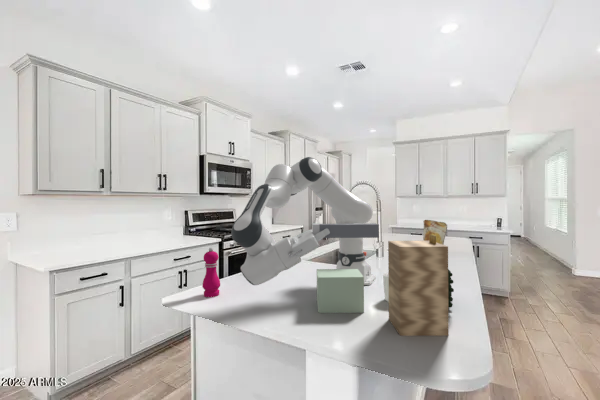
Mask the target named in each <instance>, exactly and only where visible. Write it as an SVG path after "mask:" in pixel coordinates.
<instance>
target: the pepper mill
mask: <svg viewBox="0 0 600 400" xmlns="http://www.w3.org/2000/svg"><path fill="white" fill-rule="evenodd" d="M203 261H204V262H205V263H204V267H205V275H204V278H203V280H202V285H201V286H202V289H203V290H204V291H203V297H205V298H216V297H218V296H219V295H220V287H221V280H220V278H219V275H218V273H217V267H218V261H219V254H218V252H216V251H214V248H213V247H209V249H208V251H206V252H204V255H203Z"/></svg>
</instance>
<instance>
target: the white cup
mask: <svg viewBox="0 0 600 400" xmlns="http://www.w3.org/2000/svg"><path fill="white" fill-rule="evenodd" d="M382 277H383V278H382V279H383V283H382V284H383V294H384V301H386V302H387V303H389V272H384V273H383V274H382Z"/></svg>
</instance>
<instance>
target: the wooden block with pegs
mask: <svg viewBox="0 0 600 400" xmlns="http://www.w3.org/2000/svg"><path fill="white" fill-rule="evenodd" d="M387 244H388V246H387V247H388V249H387V250H388V252H387V253H388V254H387V255H388V264H387V265H388V269H387V271H388V273H389V302H388V320H389V322H390V323H391V324H392V326H393V327H394V329H395V330H396V332H397V333H398V334H399V336H401V337H403V336H404V337H406V336H407V337H411V336H412V337H413V336H414V337H415V336H416V337H417V336H420V337H421V336H422V337H423V336H424V337H425V336H426V337H427V336H432V337H434V336H439V337H443V336H449V307H448V269H449V246H448V245H445V244H444V245H442V244H439V243H437V242H436V236H434V235H429V241H423V240H388V243H387Z"/></svg>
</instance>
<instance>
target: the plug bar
mask: <svg viewBox="0 0 600 400" xmlns="http://www.w3.org/2000/svg"><path fill="white" fill-rule="evenodd" d="M379 226H380V225H379V224H378V223H374V222H373V223H372V222H371V223H368V222H367V223H358V224H336V223H316V222H314V223H312V230H313V234H314V235H315V234H317V233H319V232H321V231H322V230H324V229H326V228H328V230H329V231H330V234H328V235H326V236H325V237H324V238H323V239H339V238H363V239H365V238H366V239H367V238H368V239H369V238H371V239H374V238H377V239H378V238H379V237H380V227H379Z"/></svg>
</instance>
